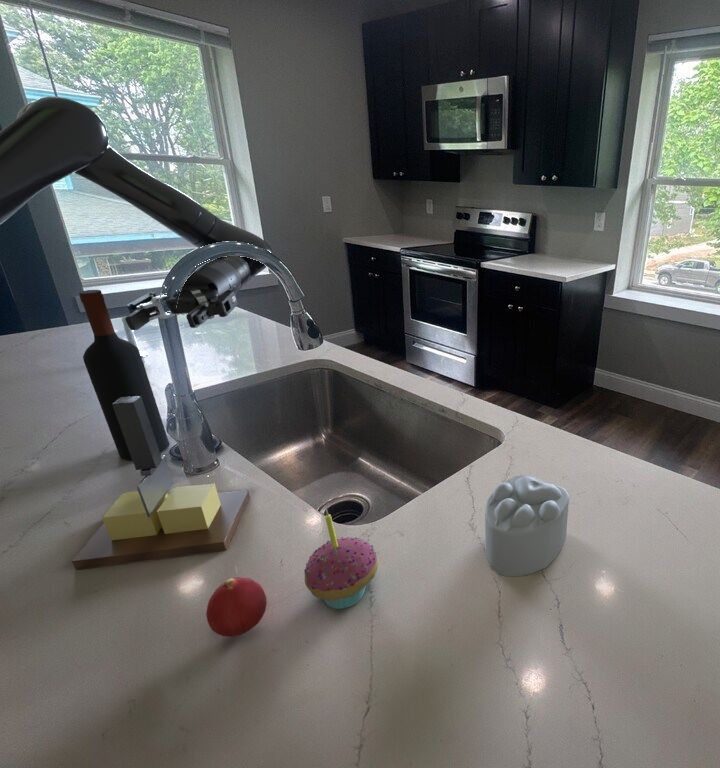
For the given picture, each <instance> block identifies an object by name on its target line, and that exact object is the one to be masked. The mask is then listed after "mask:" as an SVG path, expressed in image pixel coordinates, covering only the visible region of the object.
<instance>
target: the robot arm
mask: <svg viewBox="0 0 720 768" xmlns="http://www.w3.org/2000/svg"><path fill="white" fill-rule="evenodd" d="M72 174H76V175H78V176H80V177H82V178H84V179H86V180H88V181H90V182H92V183H94V184H96V185H98V186H99V187H101V188H103V189H105V190H107V191H108V192H110V193H111V194H114V195H115V196H116V197H119V198H120V199H122V200H124V201H125V202H127V203H129V204H131V205H132V206H133V207H135V208H136V209H138V210H139V211H141V212H142V213H144V214H146V215H147V216H149V217H150V218H152V219H153V220H155V221H156V222H158V223H159V224H161V226H164V227H165V228H167V229H168V230H170V231H171V232H172V233H174V234H176V235H177V236H179V237H180V238H182V239H183V240H185V241H187V242H188V243H190V244H192V245H193V246H194V247H195V248H198V249H199V248H200V247H202V246H205V245H208V244H212V243H216V242H222V241H237V242H244V243H249V244H253V245H255V246H258V247H260V248H263V249H265V250H267V251H269V252H270V253H272V254H273V255H274V252H273V250H272V247H271V246H270V245H269V244H268V243H267V241H266V240H264V239H263V238H262V237H260V236H258V235H257V234H254V233H252V232H250V231H248V230H245V229H242V228H240V227H238V226H236V225H234V224H232V223H229V222H227V221H224V220H222V219H221V218H219V217H218V216H217V215H215V214H214V213H212V212H211V211H210V210H208V209H207V208H205V206H203V205H201V204H200V203H198V202H197V201H196V200H194V199H193V198H191V197H190V196H188V195H187V194H185V193H183V192H182V191H180V190H178V189H177V188H175V187H174V186H171V185H169V184H167V183H166V182H164V181H162V180H160V179H158V178H157V177H155V176H153V175H151V174H149V173H148V172H146V171H144V170H143V169H142V168H140V167H139V166H137V165H135V164H134V163H132V162H131V161H129V160H128V159H127V158H125V157H124V156H123V155H121V154H120V153H118V151H116V150H115V149H114V148H112V146H110V145H109V133H108V129H107V127H106V125H105V122H104V121H103V120H102V118H101V117H100V116H99V115H98V114H97V113H96V112H95V111H94V110H92V109H91V108H90V107H88V106H86V104H83V103H81V102H78V101H77V100H74V99H71V98H68V97H67V98H66V97H62V96H61V97H60V96H44V97H40V98H38V99H34V100H33V101H31V102H28V103H27V104H25V105H24V106H22V108H20V109H19V111H18V112H17V115H16V119H15V120H13V121H12V122H11V123H10V124H9V125H7V126H5V127H4V128H3V129H2V130H0V226H1V225H2V224H3V223H4V222H6V221H7V220H8V219H10V218H11V217H12V216H14V214H15V213H17V212H18V211H19V210H20V209H22V208H23V207H24V206H25V205H26V204H27V203H28V202H29V201H30V200H31V199H33V198H34V197H35V196H36V195H38V194H39V193H40V192H42V191H44V190H45V189H47V188H48V187H50V186H52V185H53V184H55V183H57V182H59V181H61V180H62V179H65V178H66V177H68V176H70V175H72ZM266 268H267V267H266V266H265V265H264V264H262V263H260V262H259V261H256V260H253V259H250V258H247V257H240V256H227V257H220V258H217V259H215V260H213V261H210V262H209V263H206V264H204V265H202V266H200V267H199V268H197V269H196V270H195V271H194V273H193V274H192V275H191V276H190V277H189V278H188V279H187V281H186V282H185V284H184V286H183V287H182V289H181V292H178V294H177V290H176V292H175V294H174V295H173V297H174V298H172V299H170V296H167V295H164V294H161V297H160V295H157V294H156V293H155V292H154V291H151V292H147V293H146V294H144V295H141V296H140V297H138V298H137V299H134V300H133V301H131V302H129V303H128V304H126V307H127V309H128V311H129V314H128V315H127V316H125V320H126V322H127V324H128V326H129V328H130V329H131V330H132V331H138V330H140V329H141V328H143V327H144V326H145V325H147V324H148V323H150V322H151V321H153V320H157V319H163V320H167V319H170V318H174V317H176V316H179V315H182V316H184V315H186V320H187V323H188V325H189V327H190V328H191V329H197V328H199V327H200V326H201V325H202V324H204V323H205V322H206V321H208V320H212V319H214V318H215V316H218V317H220V318H225V317H227V316H229V315H230V314H231V312H233V310H234V309H235V308H236V307H237V306H238V304H239V303H238V300H237V297H236V295H237V294H238V292H239V291H240V290H241V289H242V288H243V287H245V286H246V285H247V283H248V282H249V281H250V280H252V279H253V278H254V277H256V276H257V275H258V274H259V273H261V272H262V271H264V270H265V269H266ZM188 276H189V275H188ZM179 291H180V289H179ZM179 293H180V296H179ZM176 296H177V297H176ZM178 296H179V300H178ZM160 298H161V299H160ZM159 299H160V302H159ZM163 300H166V304H165V306H166V305H167V306H166V308H167V307H168V308H167V309H168V310H169V311H168V312H170V313H167V312H166V311H165V309H164V306H163V304H162V301H163ZM177 301H178V304H177ZM176 305H177V308H176ZM153 312H154V313H153ZM175 314H176V316H175Z"/></svg>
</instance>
